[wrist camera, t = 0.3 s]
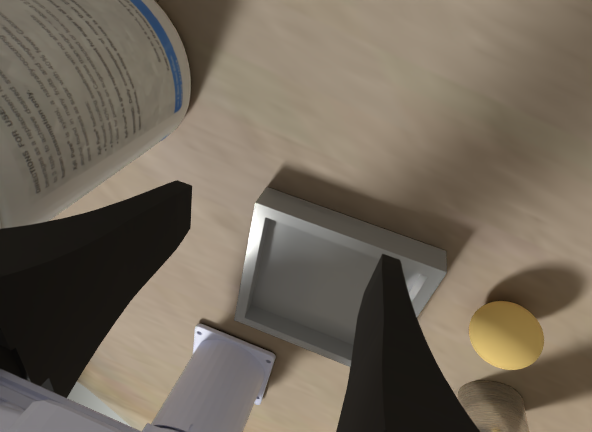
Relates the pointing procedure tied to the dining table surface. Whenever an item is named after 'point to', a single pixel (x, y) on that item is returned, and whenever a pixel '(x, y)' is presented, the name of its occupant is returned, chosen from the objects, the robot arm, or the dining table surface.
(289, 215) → the dish
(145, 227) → the robot arm
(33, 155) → the supplement tub
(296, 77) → the dining table surface
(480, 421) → the shaker cup
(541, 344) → the ball
